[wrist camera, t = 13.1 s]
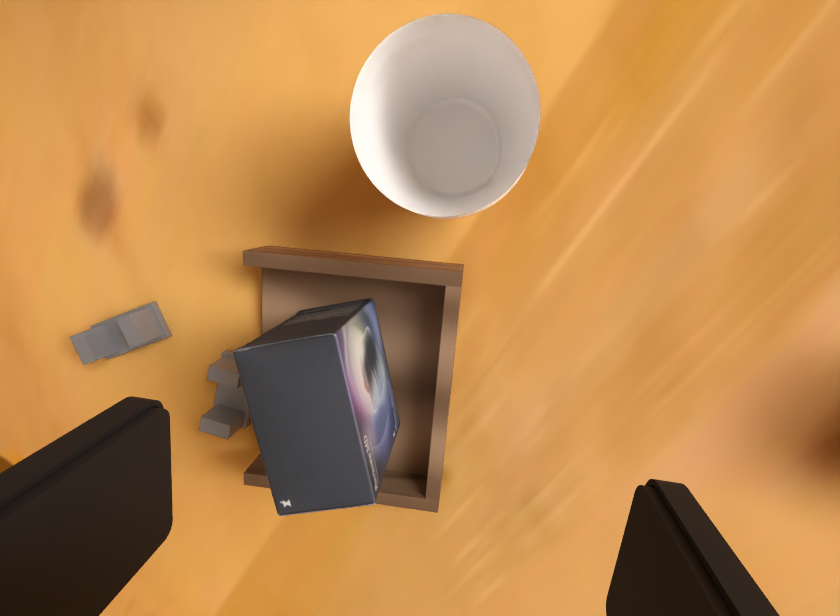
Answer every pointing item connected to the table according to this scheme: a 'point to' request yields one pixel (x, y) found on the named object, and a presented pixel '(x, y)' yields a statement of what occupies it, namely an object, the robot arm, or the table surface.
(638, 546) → the robot arm
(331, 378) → the small box
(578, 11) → the table surface
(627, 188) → the table surface
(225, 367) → the clip
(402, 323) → the holder
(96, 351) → the clip
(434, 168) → the cup
